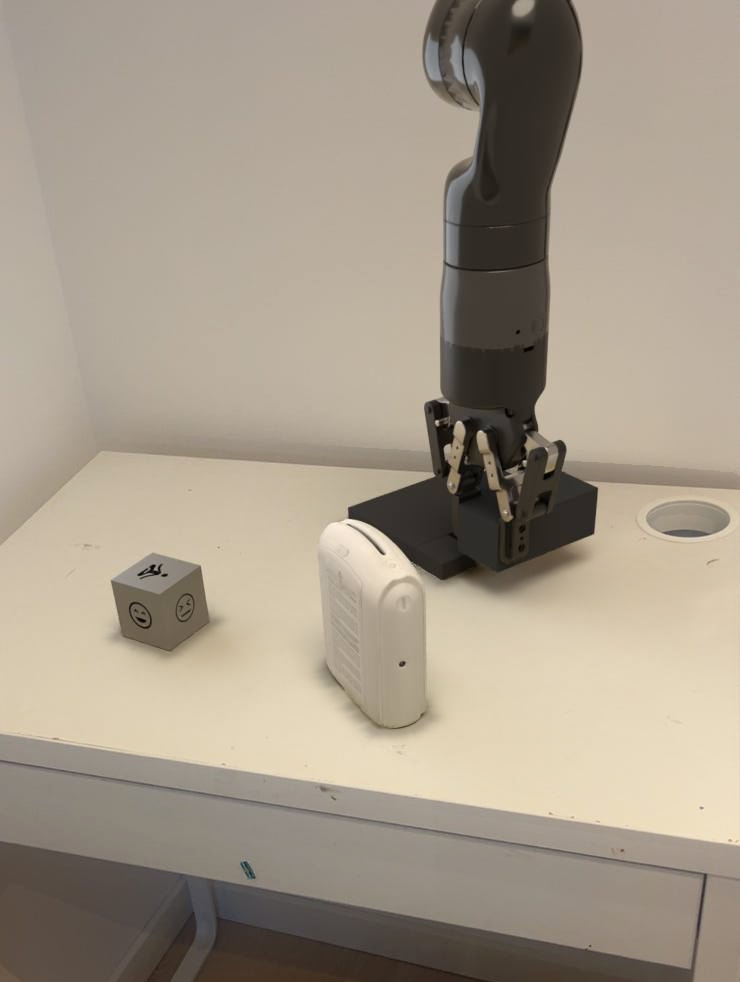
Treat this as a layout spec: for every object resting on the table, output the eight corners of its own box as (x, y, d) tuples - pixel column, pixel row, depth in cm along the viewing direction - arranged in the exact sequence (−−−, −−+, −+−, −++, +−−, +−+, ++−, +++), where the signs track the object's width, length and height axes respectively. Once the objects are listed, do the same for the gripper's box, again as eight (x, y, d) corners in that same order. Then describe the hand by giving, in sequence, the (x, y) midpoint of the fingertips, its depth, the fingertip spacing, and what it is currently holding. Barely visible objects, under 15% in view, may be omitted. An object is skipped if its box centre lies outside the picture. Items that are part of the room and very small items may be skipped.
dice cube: (162, 607, 96) (152, 552, 93) (209, 621, 93) (200, 565, 90) (122, 635, 93) (110, 580, 90) (169, 651, 90) (159, 594, 87)
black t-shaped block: (525, 500, 99) (527, 455, 97) (594, 534, 94) (598, 487, 91) (430, 535, 96) (430, 489, 93) (496, 573, 90) (498, 525, 87)
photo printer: (436, 718, 80) (434, 556, 73) (380, 737, 79) (372, 574, 71) (370, 650, 88) (362, 497, 80) (319, 666, 87) (305, 512, 79)
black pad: (454, 484, 109) (454, 469, 108) (555, 535, 99) (556, 519, 99) (348, 522, 105) (347, 507, 104) (442, 580, 95) (442, 563, 94)
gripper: (390, 316, 85) (397, 531, 95) (518, 364, 75) (510, 597, 85) (472, 292, 87) (470, 504, 98) (607, 335, 77) (588, 565, 88)
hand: (489, 546), depth 92 cm, fingers closed on black t-shaped block, 5 cm apart
